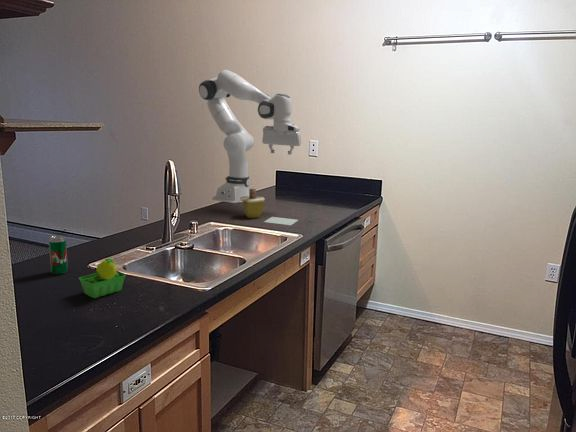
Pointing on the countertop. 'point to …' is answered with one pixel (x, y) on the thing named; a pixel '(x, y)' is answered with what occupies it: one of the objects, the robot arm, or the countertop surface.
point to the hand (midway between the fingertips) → (281, 153)
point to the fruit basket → (103, 280)
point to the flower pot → (253, 209)
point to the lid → (252, 197)
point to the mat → (281, 221)
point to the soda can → (58, 255)
